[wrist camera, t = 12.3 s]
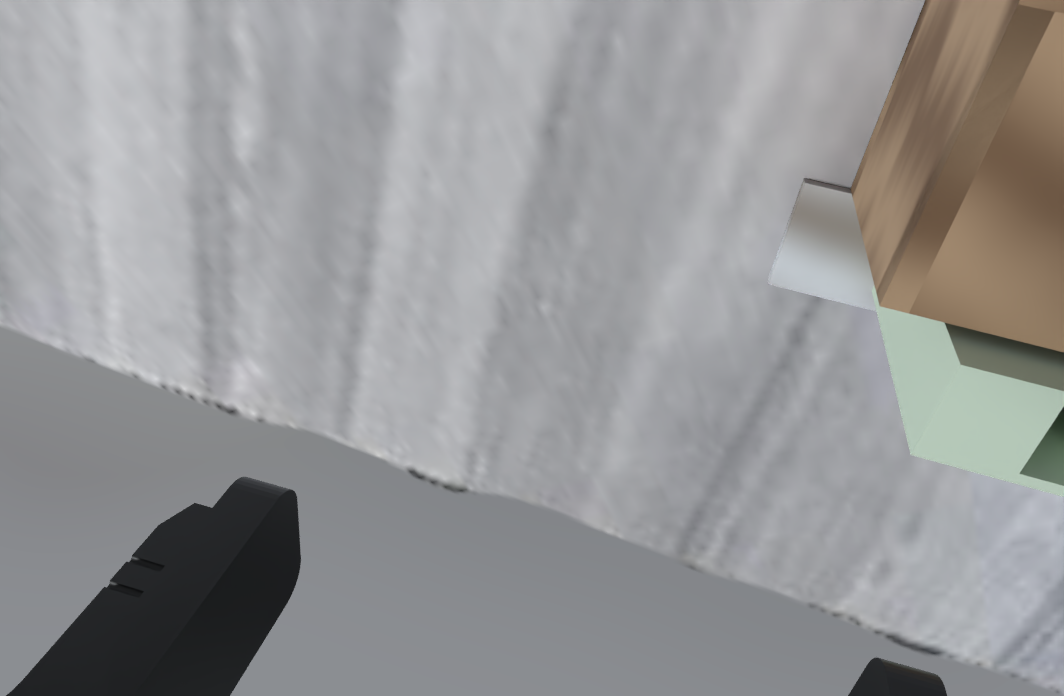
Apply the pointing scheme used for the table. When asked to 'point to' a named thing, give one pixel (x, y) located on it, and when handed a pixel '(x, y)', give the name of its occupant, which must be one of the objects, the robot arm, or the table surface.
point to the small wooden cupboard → (953, 182)
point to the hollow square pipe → (978, 399)
